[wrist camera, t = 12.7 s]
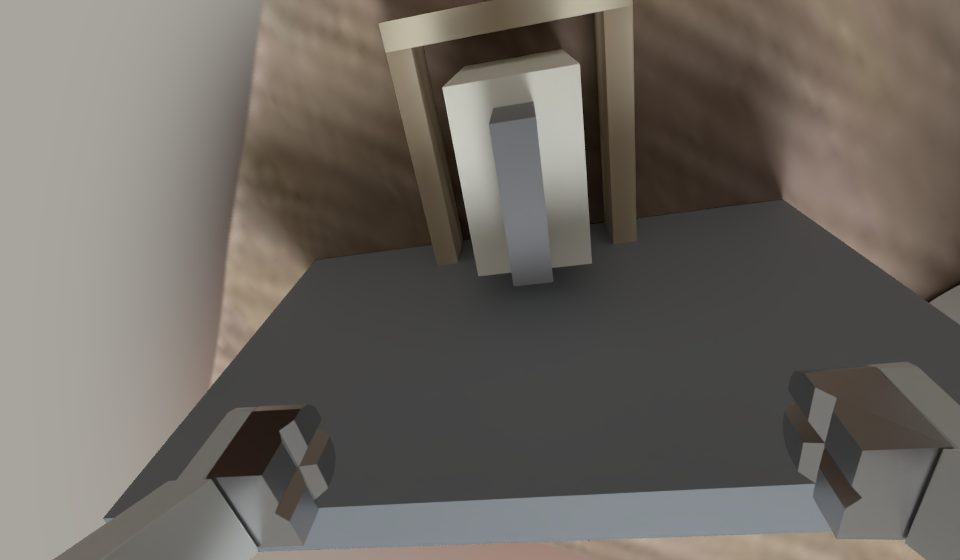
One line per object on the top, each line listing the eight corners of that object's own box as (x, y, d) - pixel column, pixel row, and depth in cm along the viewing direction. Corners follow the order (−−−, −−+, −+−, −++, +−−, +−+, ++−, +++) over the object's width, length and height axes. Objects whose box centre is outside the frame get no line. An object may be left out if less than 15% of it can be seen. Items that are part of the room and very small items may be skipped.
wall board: (782, 199, 27) (1160, 466, 11) (778, 231, 28) (1120, 521, 12) (315, 260, 31) (103, 518, 15) (325, 286, 32) (135, 555, 16)
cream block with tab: (561, 48, 24) (591, 73, 14) (573, 200, 28) (602, 299, 18) (463, 66, 24) (428, 100, 15) (488, 211, 28) (472, 313, 19)
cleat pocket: (618, -24, 22) (632, -29, 19) (625, 219, 28) (636, 241, 25) (393, 21, 24) (378, 23, 21) (444, 243, 29) (437, 265, 27)
